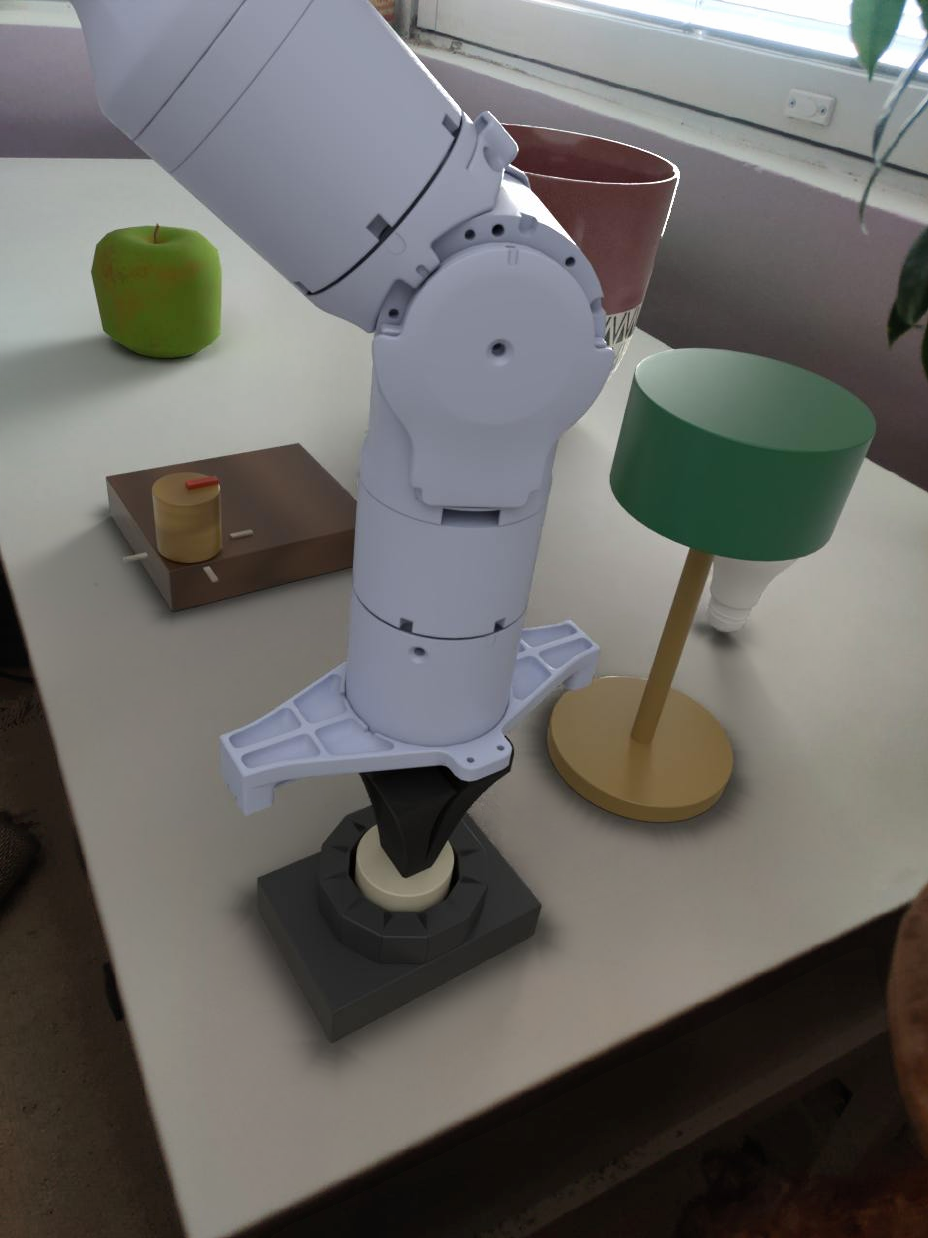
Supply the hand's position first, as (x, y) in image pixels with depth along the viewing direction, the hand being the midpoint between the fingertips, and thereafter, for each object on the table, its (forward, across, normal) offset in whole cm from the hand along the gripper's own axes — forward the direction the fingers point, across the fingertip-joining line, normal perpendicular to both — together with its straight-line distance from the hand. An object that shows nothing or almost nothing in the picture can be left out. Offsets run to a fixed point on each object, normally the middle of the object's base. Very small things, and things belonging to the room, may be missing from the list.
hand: (406, 855), depth 38 cm
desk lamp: (+5, +17, +3) cm, 18 cm away
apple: (+5, +12, +64) cm, 66 cm away
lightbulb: (+5, +30, +9) cm, 32 cm away
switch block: (+5, 0, 0) cm, 5 cm away
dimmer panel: (+5, +5, +30) cm, 31 cm away
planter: (+5, +37, +42) cm, 56 cm away
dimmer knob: (+2, +1, +27) cm, 27 cm away
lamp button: (+2, 0, 0) cm, 2 cm away
